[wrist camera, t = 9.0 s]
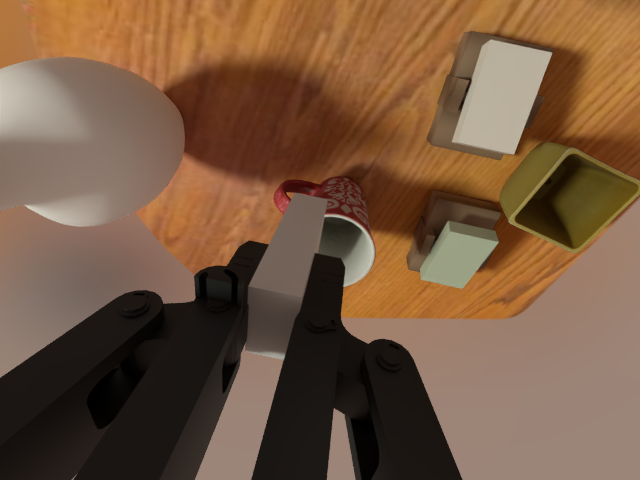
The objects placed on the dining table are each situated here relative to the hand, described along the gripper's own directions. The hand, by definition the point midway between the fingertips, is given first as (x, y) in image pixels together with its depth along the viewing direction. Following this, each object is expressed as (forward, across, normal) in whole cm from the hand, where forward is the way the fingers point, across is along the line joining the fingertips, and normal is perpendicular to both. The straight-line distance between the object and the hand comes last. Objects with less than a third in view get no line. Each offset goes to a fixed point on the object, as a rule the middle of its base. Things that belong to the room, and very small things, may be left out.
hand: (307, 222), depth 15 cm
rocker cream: (+24, +14, +4) cm, 28 cm away
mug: (+28, 0, -10) cm, 30 cm away
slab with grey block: (+28, +17, -13) cm, 35 cm away
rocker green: (+24, +17, -13) cm, 32 cm away
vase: (+28, -23, -5) cm, 37 cm away
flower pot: (+28, +24, -3) cm, 38 cm away
